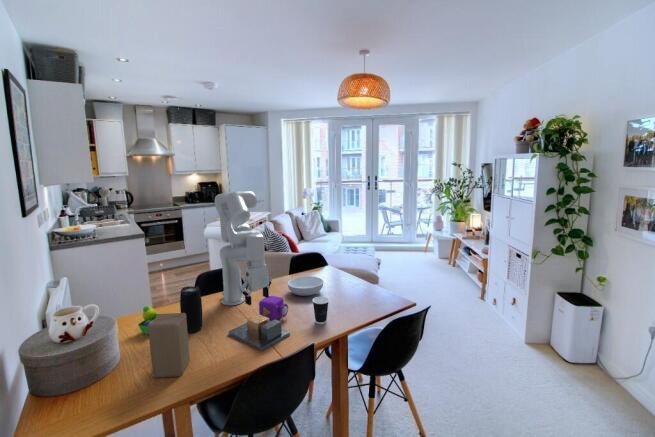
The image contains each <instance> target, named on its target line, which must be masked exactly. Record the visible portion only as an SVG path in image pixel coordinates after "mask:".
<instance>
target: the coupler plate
mask: <svg viewBox="0 0 655 437" xmlns="http://www.w3.org/2000/svg"><path fill="white" fill-rule="evenodd" d="M228 336H231V337H232V338H235V339H236V340H239V341H241V342H242V343H244V344H247V345H249V346H251V347H252V348H255V349H257V350H259V351H261V352H263V351H265V350H267V349H268V348H270V347H272V346H274V345H275V344H277V343H278V342H281V341H282V340H285V339H286V338H287V337H290V336H291V331H288V330H286V329H284V328H282V321H280V320H279V319H277V320H275V319H274V320H272V321H270V320H269V322H268V323H266V324H262V325H260V337H257V336H255V335H253V334H251V333H249V332H248V322H247V321H246V322H245V323H243V324H241V325H240V326H237V327H235V328H233V329H231V330H229V331H228Z"/></svg>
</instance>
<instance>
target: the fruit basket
mask: <svg viewBox="0 0 655 437" xmlns="http://www.w3.org/2000/svg"><path fill="white" fill-rule="evenodd" d="M159 314H160V313H157V311H156V310H155V309H154V308H153V307H151V306H149V305H145V306H144V307H143V309H142V318H143V319H144V320H142V321H141V322H139V323H138V324H137V327H139V328H140V331H141V333H142V335H146V334H149V330H148V327H149V325H150V324H151V322H152V321H153V320H154V319H155V318H156V317H157V316H158V315H159ZM144 333H145V334H144Z"/></svg>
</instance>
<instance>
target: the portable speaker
mask: <svg viewBox="0 0 655 437" xmlns="http://www.w3.org/2000/svg"><path fill="white" fill-rule="evenodd" d="M200 290H201V289H200V287H199V286H197V285H196V286H184V287H182V288H181V290H180V295H179V310H180V313H186V319H187V332H190V333H191V334H195V333H198V332H199V331H201V329H202V327H203V305H202V304H203V303H202V297H201V295H202V294H201V291H200Z"/></svg>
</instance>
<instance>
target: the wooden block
mask: <svg viewBox="0 0 655 437" xmlns="http://www.w3.org/2000/svg"><path fill="white" fill-rule="evenodd" d="M158 314H159V315H158V316H157V317H156V318H155V319H154V320H153V321H152V322H151V324H150V325H149V327H148V330H149V335H148V338H149V347H150V356H151V357H150V359H151V367H152V368H151V369H152V376H153V378H171V377H172V378H173V377H175V378H176V377H180V376H182V375H183V373H184V372H185V369H186V368H187V366H188V364H189V363H190V359H191V358H190V346H189V334H188V331H187V319H186V313H181V312H176V313H175V312H173V313H172V312H171V313H158Z"/></svg>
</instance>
